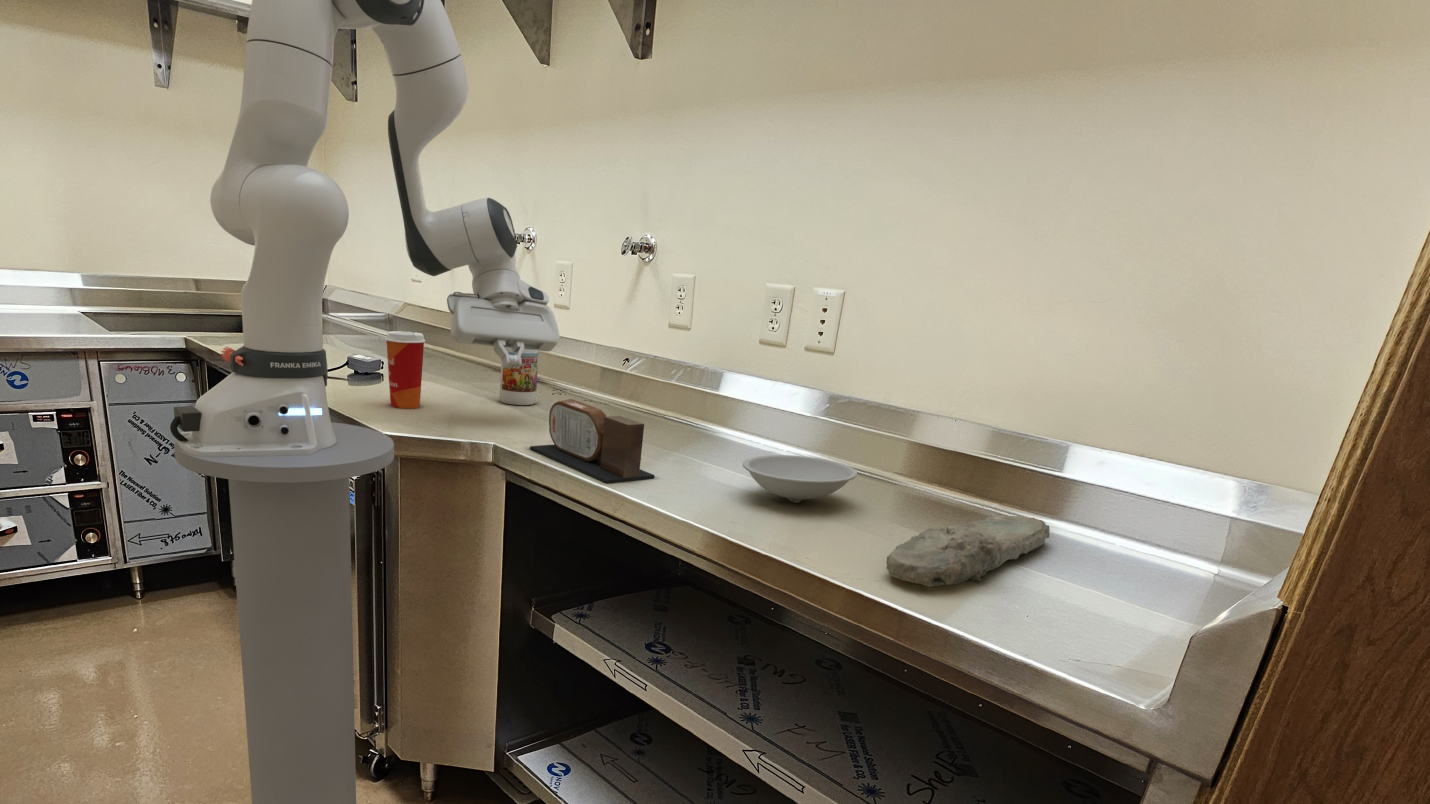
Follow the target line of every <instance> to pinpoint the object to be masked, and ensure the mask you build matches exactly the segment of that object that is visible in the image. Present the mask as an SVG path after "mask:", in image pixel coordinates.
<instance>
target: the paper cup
mask: <svg viewBox="0 0 1430 804" xmlns="http://www.w3.org/2000/svg"><path fill="white" fill-rule="evenodd" d="M384 340H385V341H386V355H387V373H388V389H389V399H390V400H389V401H390V406H391V407H392V408H397V409H409V410H410V409H417V408H419V407H420V405H421V395H422V394H421V392H422V379H423V366H424V365H423V364H424V363H423V362H424V350H425V349H424V348H425V347H424V346H425V343H426V339H425V337H424V334H423V333H421V332H413V331H404V330H393V331H387V332H386V337H384Z"/></svg>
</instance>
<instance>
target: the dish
mask: <svg viewBox="0 0 1430 804" xmlns="http://www.w3.org/2000/svg"><path fill="white" fill-rule="evenodd" d="M742 467H743V468H744V469H745V470H746V471H748V473H749V474H750V476H751V477H752V478H753V480H754V481H755V482H756V483H757V485H758V486H760V487H761V489H763V490H764V491H767V492H768V493H770V494H773V495H775V496H779V497H782V498H786V499H788V502H789V501H790V502H792V503H800V502H801V501H802V500H813V499H819V498H824V497H827V496H829V495H832V494H833V493H835V492H837V491H839V490H840V489H842V488H843V487H844V486H845V485H847V483H848V482H849V481H852V480H854V479H855V478H857V476H858V472H857V470H856V469H855V468H854V467H851V466H850V465H847V464H845V463H841V462H838V461H834V460H830V459H824V458H820V457H813V456H806V455H805V456H803V455H791V454H772V455H771V454H770V455H769V454H768V455H759V456H754V457H749V458H747V459H745V460H744V461H743V462H742Z"/></svg>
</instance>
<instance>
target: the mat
mask: <svg viewBox="0 0 1430 804" xmlns="http://www.w3.org/2000/svg"><path fill="white" fill-rule="evenodd" d="M529 450H530V451H533V452H536V453H538V454H540V455H542V456H544V457H547V458H549V459H551V460H553V461H556V462H557V463H560V464H563V465H565V466H567V467H569V468H572V469H573V470H576V471H579V472H580V473H582V474H584V475H587V476H590V477H592V478H594V479H596V480H598V481H600V482H602V483H605V484H613V483H621V482H623V483H624V482H630V481H641V480H642V481H643V480H650V479H655V474H653V473H651V472H648V471H645V470H643V469H641V468H640V472H639V477H631V478H622V477H619V476H617V475H615V474H612V473H610V472H607V471H605V470H603V469H600V464H601V461H599V460H597V461H590V462H588V461H584V460H582V459H580V458H578V457H575V456H573V455H571V454H568V453H566V452H564V451H562V450H560V449H558V448H557V447H556V446H555V444H554V443H553V444H543V445H540V444H539V445H530V446H529Z"/></svg>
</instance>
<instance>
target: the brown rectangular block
mask: <svg viewBox="0 0 1430 804" xmlns="http://www.w3.org/2000/svg"><path fill="white" fill-rule="evenodd" d="M644 429H645V423H643V422H639V421H636V420H634V419H630V418H628V417H625V416H622V415H613V416H611V415H609V416H607V417H604V428H603V440H602V452H601V464H600V469H603V470H605V471H607V472H610V473H612V474H615V475H617V476H619V477H622V478H631V477H639V472H640V469H641V461H642V453H643V452H642V450H643V441H644V432H645V430H644Z"/></svg>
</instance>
